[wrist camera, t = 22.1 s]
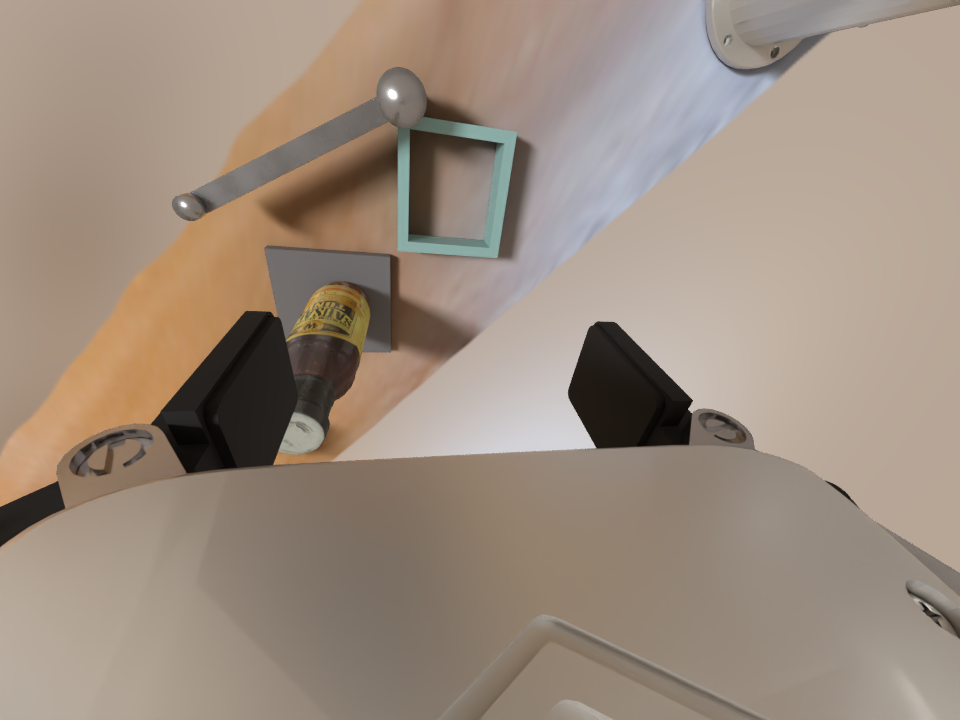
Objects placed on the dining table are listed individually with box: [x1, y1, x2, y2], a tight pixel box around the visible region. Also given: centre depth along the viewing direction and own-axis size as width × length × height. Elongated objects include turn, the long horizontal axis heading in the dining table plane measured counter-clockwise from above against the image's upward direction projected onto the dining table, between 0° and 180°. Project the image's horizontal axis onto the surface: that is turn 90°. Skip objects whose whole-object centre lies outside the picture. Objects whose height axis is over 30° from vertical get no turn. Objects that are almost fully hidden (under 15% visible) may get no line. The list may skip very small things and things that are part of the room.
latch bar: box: [172, 67, 427, 221], centre depth 27 cm, size 4×21×3 cm, turn 112°
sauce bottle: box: [279, 281, 370, 454], centre depth 31 cm, size 6×6×20 cm
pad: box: [264, 246, 391, 352], centre depth 39 cm, size 12×12×1 cm
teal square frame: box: [398, 117, 517, 258], centre depth 33 cm, size 12×14×4 cm
